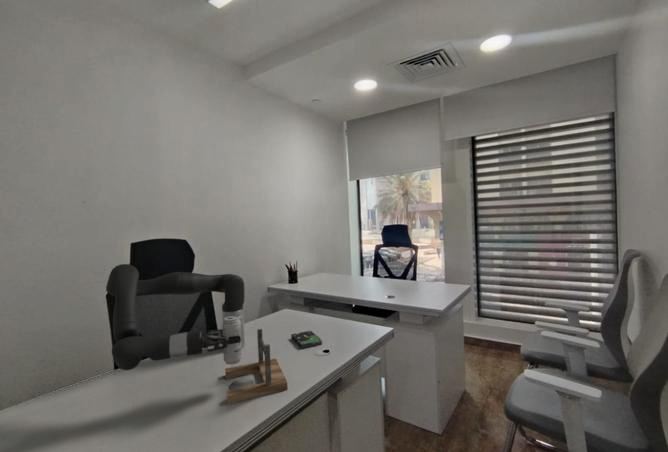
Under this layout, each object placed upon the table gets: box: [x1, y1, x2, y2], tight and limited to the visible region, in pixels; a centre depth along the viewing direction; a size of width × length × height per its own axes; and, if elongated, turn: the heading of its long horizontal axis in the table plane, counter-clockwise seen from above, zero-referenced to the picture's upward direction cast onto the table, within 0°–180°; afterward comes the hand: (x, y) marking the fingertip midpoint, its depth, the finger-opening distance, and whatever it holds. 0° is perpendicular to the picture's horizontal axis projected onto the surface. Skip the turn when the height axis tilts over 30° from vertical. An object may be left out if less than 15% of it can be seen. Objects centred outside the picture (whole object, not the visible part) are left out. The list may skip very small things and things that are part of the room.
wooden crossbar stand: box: [224, 328, 288, 404], centre depth 110 cm, size 20×19×16 cm
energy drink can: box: [221, 316, 243, 365], centre depth 107 cm, size 6×6×15 cm
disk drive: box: [291, 330, 323, 350], centre depth 145 cm, size 10×3×15 cm
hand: (239, 335), depth 108 cm, fingers closed on energy drink can, 6 cm apart
